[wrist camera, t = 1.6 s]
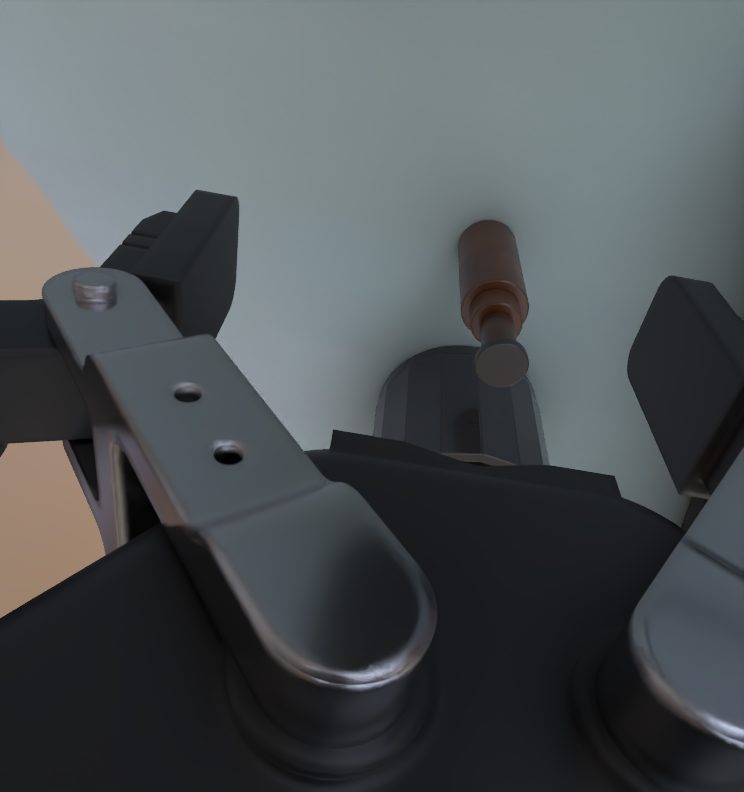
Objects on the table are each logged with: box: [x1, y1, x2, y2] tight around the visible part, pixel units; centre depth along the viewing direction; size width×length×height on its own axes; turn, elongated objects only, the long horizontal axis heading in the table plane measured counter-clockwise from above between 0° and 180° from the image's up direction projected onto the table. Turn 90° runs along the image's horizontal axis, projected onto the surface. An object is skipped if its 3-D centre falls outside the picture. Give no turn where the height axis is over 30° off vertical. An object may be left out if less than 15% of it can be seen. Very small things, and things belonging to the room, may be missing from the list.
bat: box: [458, 220, 529, 387], centre depth 28 cm, size 3×3×10 cm
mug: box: [373, 346, 549, 466], centre depth 36 cm, size 12×9×8 cm
